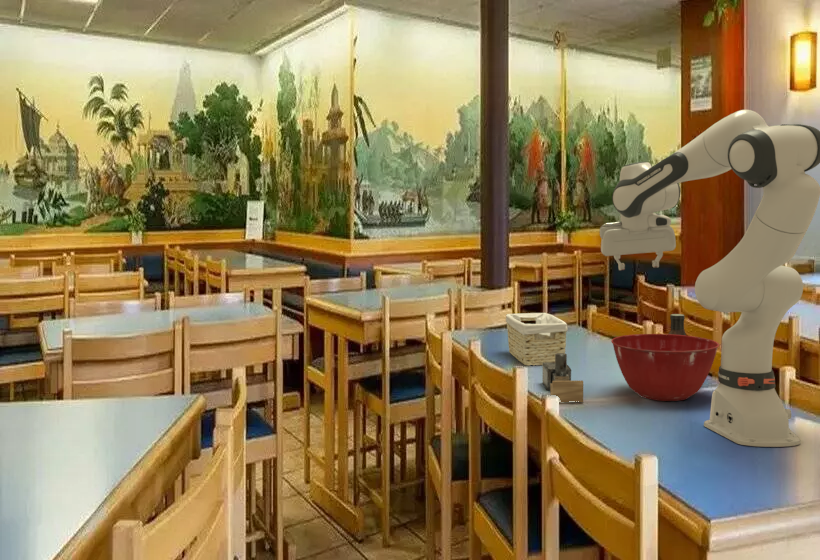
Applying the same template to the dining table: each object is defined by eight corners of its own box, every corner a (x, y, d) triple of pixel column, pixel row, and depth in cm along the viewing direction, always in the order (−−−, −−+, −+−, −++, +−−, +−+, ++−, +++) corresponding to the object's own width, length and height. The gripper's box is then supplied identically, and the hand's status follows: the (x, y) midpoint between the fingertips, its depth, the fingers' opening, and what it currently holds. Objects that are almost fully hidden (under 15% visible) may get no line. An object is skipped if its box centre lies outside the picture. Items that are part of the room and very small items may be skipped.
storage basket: (569, 365, 247) (569, 322, 246) (521, 367, 246) (521, 323, 244) (547, 351, 271) (547, 312, 270) (504, 353, 269) (504, 313, 268)
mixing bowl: (590, 388, 216) (591, 336, 215) (671, 379, 226) (672, 329, 224) (652, 413, 190) (653, 354, 188) (741, 402, 199) (742, 346, 198)
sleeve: (570, 390, 214) (571, 369, 214) (547, 390, 214) (547, 369, 214) (565, 382, 223) (565, 362, 223) (542, 383, 224) (542, 362, 223)
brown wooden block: (583, 403, 200) (583, 381, 200) (552, 403, 201) (552, 381, 200) (580, 399, 204) (580, 377, 204) (550, 399, 205) (550, 378, 204)
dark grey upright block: (568, 390, 210) (569, 355, 209) (554, 390, 210) (555, 355, 209) (561, 379, 222) (561, 347, 221) (547, 380, 222) (548, 347, 221)
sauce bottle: (688, 382, 223) (690, 316, 221) (667, 381, 224) (668, 316, 222) (685, 377, 229) (687, 313, 227) (664, 376, 230) (665, 313, 228)
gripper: (601, 225, 205) (603, 273, 208) (677, 218, 203) (678, 267, 206) (597, 221, 211) (599, 269, 214) (670, 215, 209) (672, 263, 212)
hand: (638, 268), depth 210 cm, fingers open, 8 cm apart
